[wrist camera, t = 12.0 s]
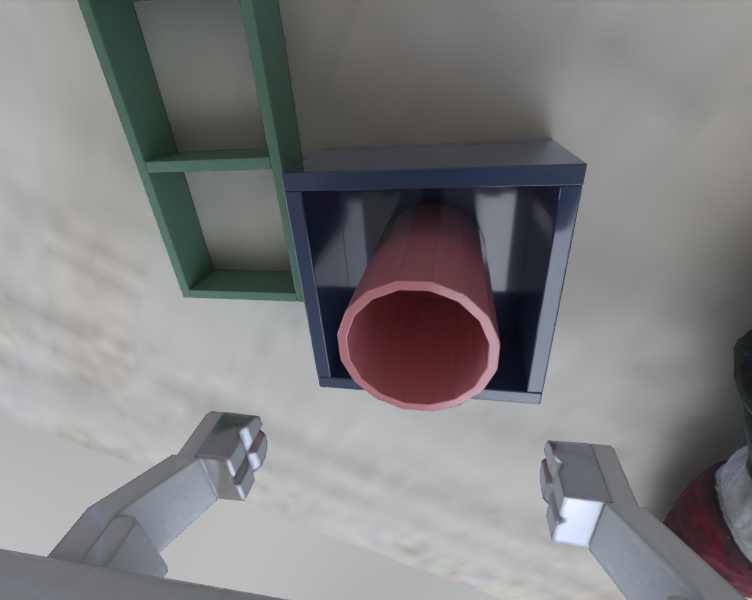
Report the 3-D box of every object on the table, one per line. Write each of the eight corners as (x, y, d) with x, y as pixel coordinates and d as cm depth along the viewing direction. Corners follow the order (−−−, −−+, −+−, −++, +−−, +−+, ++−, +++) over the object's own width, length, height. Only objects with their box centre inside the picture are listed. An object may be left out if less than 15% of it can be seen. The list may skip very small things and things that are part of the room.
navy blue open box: (323, 148, 22) (280, 173, 17) (552, 138, 20) (587, 163, 14) (346, 327, 28) (319, 387, 23) (523, 335, 26) (540, 405, 20)
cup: (376, 203, 22) (328, 279, 14) (488, 201, 21) (507, 282, 13) (382, 298, 25) (346, 404, 17) (481, 301, 24) (492, 417, 16)
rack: (118, -11, 20) (68, -23, 17) (273, -33, 18) (243, -49, 16) (208, 277, 28) (183, 297, 25) (321, 279, 26) (306, 302, 24)
